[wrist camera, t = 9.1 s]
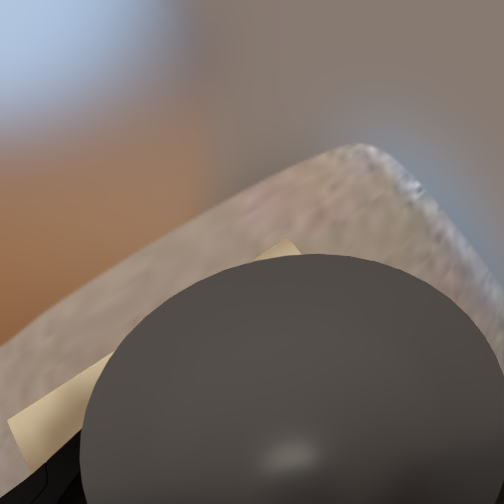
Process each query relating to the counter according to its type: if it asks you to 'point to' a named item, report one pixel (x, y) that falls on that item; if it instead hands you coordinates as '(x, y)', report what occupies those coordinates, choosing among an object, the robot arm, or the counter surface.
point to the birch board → (76, 401)
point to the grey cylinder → (299, 394)
